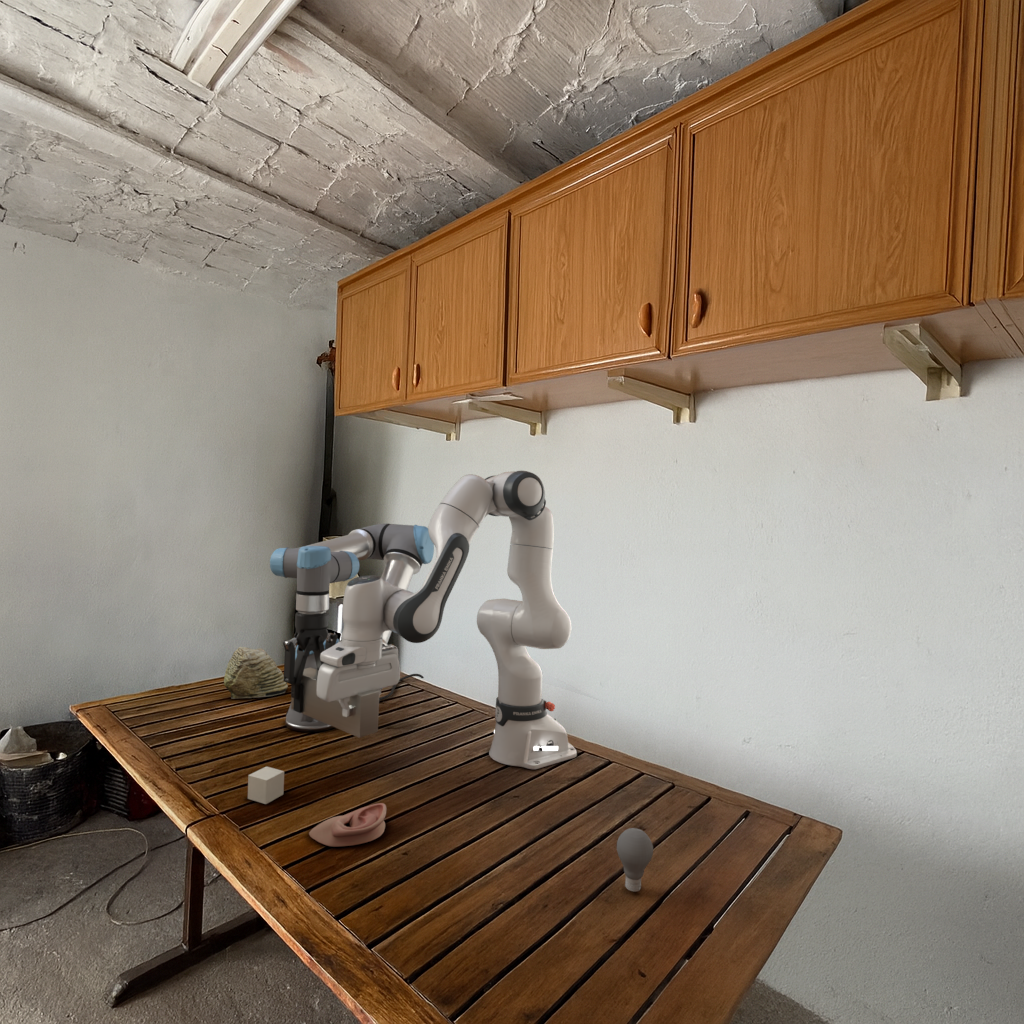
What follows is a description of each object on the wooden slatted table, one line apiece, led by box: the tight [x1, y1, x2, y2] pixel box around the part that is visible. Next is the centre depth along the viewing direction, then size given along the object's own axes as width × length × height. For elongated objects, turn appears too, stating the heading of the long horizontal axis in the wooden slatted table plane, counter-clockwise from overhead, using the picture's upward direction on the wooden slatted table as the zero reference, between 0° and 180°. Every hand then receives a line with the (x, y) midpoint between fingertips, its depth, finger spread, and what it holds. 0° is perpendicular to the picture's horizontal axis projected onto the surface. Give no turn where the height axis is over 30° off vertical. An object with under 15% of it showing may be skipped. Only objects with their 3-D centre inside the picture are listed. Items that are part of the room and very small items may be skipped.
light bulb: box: [616, 827, 654, 893], centre depth 106 cm, size 6×6×10 cm
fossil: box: [223, 646, 289, 700], centre depth 198 cm, size 9×18×15 cm, turn 132°
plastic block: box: [247, 766, 285, 805], centre depth 133 cm, size 5×5×5 cm
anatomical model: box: [308, 802, 387, 848], centre depth 120 cm, size 13×4×12 cm
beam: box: [290, 668, 380, 739], centre depth 145 cm, size 5×26×9 cm, turn 51°
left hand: (308, 708), depth 151 cm, fingers closed on beam, 5 cm apart
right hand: (359, 712), depth 139 cm, fingers closed on beam, 5 cm apart
